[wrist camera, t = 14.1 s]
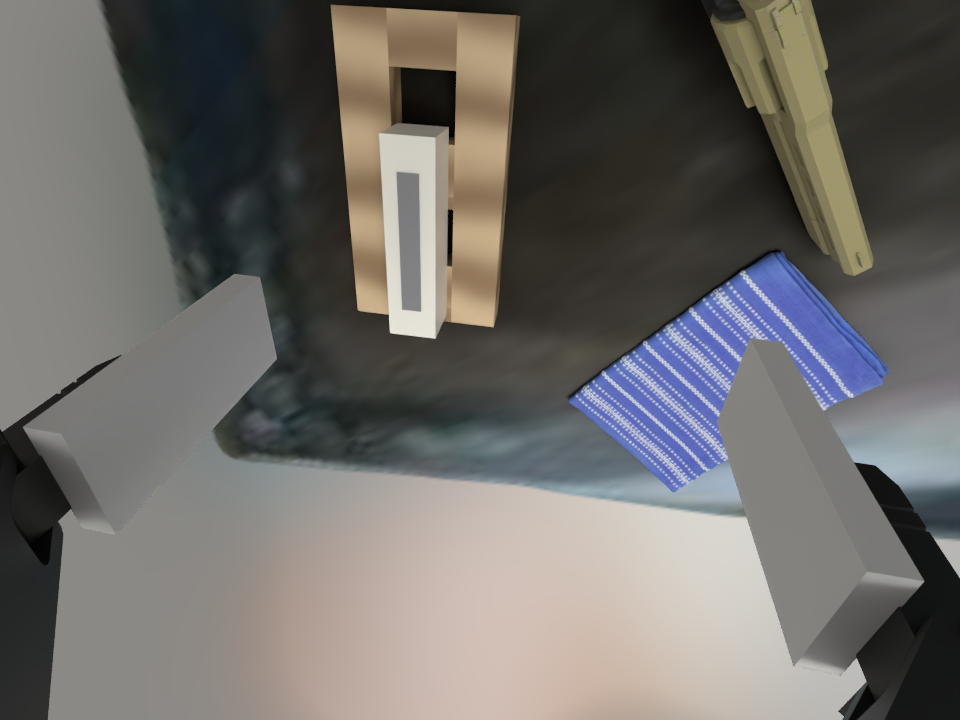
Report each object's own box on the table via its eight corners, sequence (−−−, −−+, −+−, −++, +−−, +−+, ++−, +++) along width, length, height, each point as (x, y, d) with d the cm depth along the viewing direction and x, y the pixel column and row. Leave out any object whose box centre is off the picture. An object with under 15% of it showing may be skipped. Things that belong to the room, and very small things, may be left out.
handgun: (648, -239, 29) (788, -241, 18) (793, 150, 47) (904, 264, 37) (581, -168, 31) (672, -130, 20) (746, 179, 49) (839, 296, 39)
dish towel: (885, 365, 48) (901, 383, 45) (670, 483, 59) (674, 502, 57) (775, 238, 43) (787, 250, 41) (566, 392, 55) (566, 409, 52)
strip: (406, 118, 42) (378, 133, 36) (455, 121, 41) (434, 138, 35) (411, 297, 50) (389, 333, 44) (451, 302, 50) (435, 339, 44)
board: (346, 6, 39) (330, 4, 36) (520, 16, 37) (516, 15, 35) (368, 297, 52) (357, 310, 49) (497, 312, 50) (493, 327, 48)
